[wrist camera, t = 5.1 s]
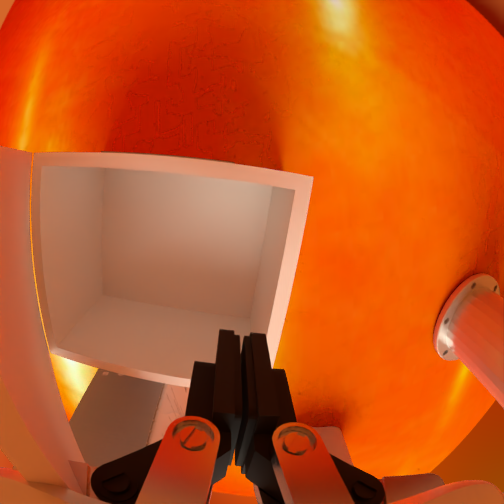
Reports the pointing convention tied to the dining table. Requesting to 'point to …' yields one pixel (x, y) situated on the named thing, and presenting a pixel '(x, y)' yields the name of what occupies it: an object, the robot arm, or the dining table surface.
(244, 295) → the carton
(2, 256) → the lid flap
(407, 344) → the dining table surface
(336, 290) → the dining table surface
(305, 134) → the dining table surface
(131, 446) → the hard drive box
